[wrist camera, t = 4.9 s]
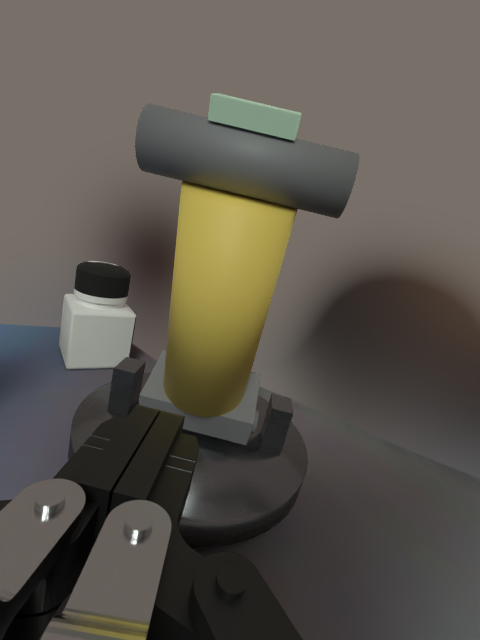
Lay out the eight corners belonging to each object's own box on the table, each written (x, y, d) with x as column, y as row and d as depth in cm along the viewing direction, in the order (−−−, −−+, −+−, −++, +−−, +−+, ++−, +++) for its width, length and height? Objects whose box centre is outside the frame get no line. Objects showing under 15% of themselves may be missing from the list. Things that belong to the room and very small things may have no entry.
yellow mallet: (263, 402, 31) (359, 123, 18) (255, 464, 26) (378, 138, 13) (151, 374, 31) (170, 78, 18) (122, 429, 26) (120, 77, 13)
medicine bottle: (128, 368, 44) (143, 275, 41) (65, 370, 40) (77, 267, 37) (114, 345, 50) (127, 262, 47) (58, 345, 46) (68, 254, 43)
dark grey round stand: (286, 437, 38) (307, 368, 36) (301, 614, 20) (344, 500, 18) (124, 395, 38) (135, 324, 36) (1, 534, 21) (10, 413, 19)
